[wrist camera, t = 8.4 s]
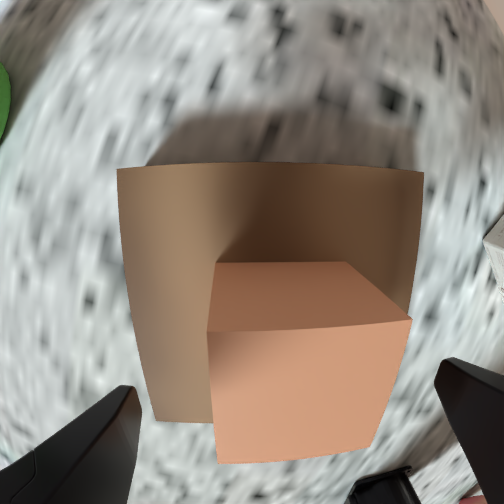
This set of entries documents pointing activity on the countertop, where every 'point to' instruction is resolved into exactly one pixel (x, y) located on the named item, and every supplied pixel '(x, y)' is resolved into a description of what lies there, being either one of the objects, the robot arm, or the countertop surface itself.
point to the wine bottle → (4, 97)
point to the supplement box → (496, 253)
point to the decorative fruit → (474, 500)
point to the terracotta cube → (299, 359)
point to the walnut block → (248, 249)
